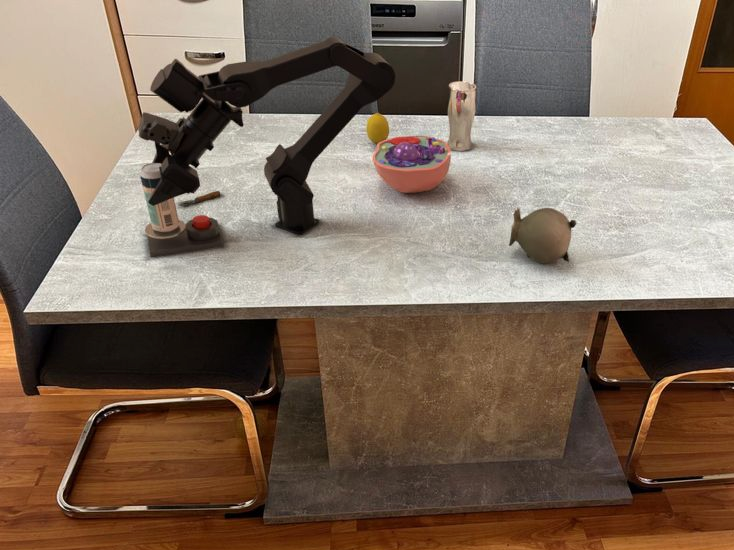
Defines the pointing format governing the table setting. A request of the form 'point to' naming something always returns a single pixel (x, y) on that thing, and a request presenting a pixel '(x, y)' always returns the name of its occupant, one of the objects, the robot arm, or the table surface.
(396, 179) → the cell model
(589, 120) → the table surface
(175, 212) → the beer can
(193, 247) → the warmer
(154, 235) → the warming plate
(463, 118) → the cream vase
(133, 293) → the table surface
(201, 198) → the can opener
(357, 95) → the robot arm
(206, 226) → the button
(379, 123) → the lemon
